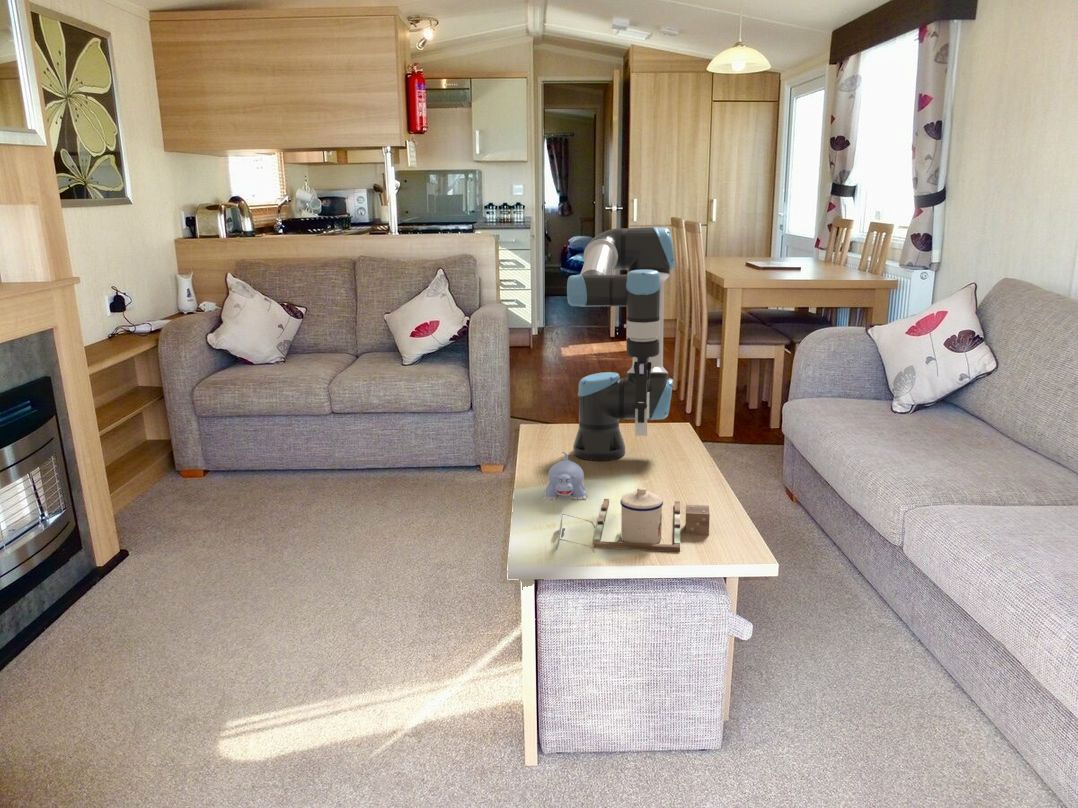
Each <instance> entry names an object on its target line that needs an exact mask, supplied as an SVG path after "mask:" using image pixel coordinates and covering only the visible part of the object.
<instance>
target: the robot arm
mask: <svg viewBox="0 0 1078 808" xmlns="http://www.w3.org/2000/svg"><path fill="white" fill-rule="evenodd" d="M583 262H584V263H583V266H582V269H581V271H580V273H578V274H576V275H575V274H573V275H570V276H568V278H567V283H566V295H567V296H566V297H567V303H568V304H569V306H572V307H582V308H584V307H587V308H588V307H626V323H624V324H623V328H624V329H626V337H627V340H626V355H627V356H629V357H631V358H632V365H631V367H630V369H628V371H627V372H626V378H620V377H621V376H620V374H619V373H618V372H611V371H609V372H608V371H607V372H598V373H592V374H588V375H586V376H584V377H582V378H581V379H580V380H579V382H578V393H577V396H578V428H577V432H576V436H575V439H574V442H573V445H572V447H573V449H572V451H573V455H574V456H575V457H577V458H579V459H582V460H585V461H586V460H587V461H599V462H601V461H611V460H616V459H619V458H622V457H623V456H625V454H626V444H625V442H624V438H623V435H622V432H621V428H620V420H634V436H636V437H637V436H639V437H640V436H641V437H642V436H643V437H647V436H648V420H650V421H653V420H665V419H666V418H667V417H668V416H669V413H670V406H671V400H672V395H673V393H672V392H673V386H674V379H672V378H670V377H669V371H667V370H666V368H665V367H664V316H665V315H664V313H665V312H664V311H665V309H664V308H665V305H664V304H665V303H664V302H665V301H664V298H665V281H666V280H668V278H669V277H670V271H673V270H674V269H675V268H676V266H675V254H674V246H673V238H672V232H671V230H670V229H668V228H667V227H655V226H653V227H632V228H631V227H630V228H629V227H627V228H622V227H619V228H612V229H609V230H606V231H603V232H601V233H599V234H597V236H594V237H593V238H592V239H591V240H590V241H589V242H588V243H587V244H586V246H585V248H584V251H583ZM613 270H614V271H615V270H616V271H617V270H619V271H628V272H627V274H612V271H613Z"/></svg>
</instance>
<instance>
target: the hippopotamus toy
mask: <svg viewBox="0 0 1078 808" xmlns="http://www.w3.org/2000/svg"><path fill="white" fill-rule="evenodd" d="M561 454H564V456H563V460H561V461H557V462H556V463H554V464H553V465H552V466H551V468H550V469H549V470H548V473H547V474H548V475H547V477H548V478H547V479H548V484H547V486H546V487H545V489H544V495H543V501H544V500H545V501H553V500H557V499H558V498H557V497H558V496H561V497H568V496H570V495H571V496H572V497H573V500H577V501H582V500H583V501H584V500H587V497H588V495H587V488H586V487H585V485H584V484H583V482H584V477H585V476H584V475H585V473H584V470H583V469H582V467H581V466H580V465H579V464H578V463H576V462H574V461H572V460H570V458H569V456H568V454H567V453H566V452H564V451H563V452H561Z"/></svg>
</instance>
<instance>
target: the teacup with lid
mask: <svg viewBox="0 0 1078 808" xmlns="http://www.w3.org/2000/svg"><path fill="white" fill-rule="evenodd" d="M620 505H621V507H620V508H621V509H620V510H621V511H620V512H621V515H620V516H621V519H620V520H621V522H620V524H621V525H620V526H621V532H620V533H621V537H620V538H621V539H622V541H623V542H626V543H648V544H659V543H660V541H661V540H662V527H663V526H662V524H663V522H662V521H663V520H662V519H663V517H662V516H663V515H662V514H663V513H662V511H663V505H664V502H663V499H662V497H660V495H658V494H655V493H652V492H650V491H648V490H647V488H646V487H644V486H639V487H637V489H636V490H635V491H633V492H629V493H626V494H625V495H623V496H622V497H621V498H620Z"/></svg>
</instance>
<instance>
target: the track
mask: <svg viewBox="0 0 1078 808" xmlns="http://www.w3.org/2000/svg"><path fill="white" fill-rule="evenodd" d="M609 504H610V498H603V502H602V506H601V507H600V512H599V513H600V514H599V517H598V520H597V526H596V528H595V534H594V536H593V537H594V538H593V543H592V547H593V548H592V549H609V550H610V549H612V550H613V549H615V550H630V551H631V550H637V551H638V550H639V551H652V552H653V551H655V552H656V551H657V552H659V551H660V552H674V553H675V552H677V553H680V552H681V501H680V500H679V501H674V532H673V533H674V536H673V537H674V538H673V539H674V540H673V541H674V543H673V544H667V543H665V544H664V543H657V544H648V543H626V542H624V541H623V542H622V541H619V542H618V541H602V540H601V539H602V536H603V532H604V526H605V522H606V517H607V514H608V508H609Z"/></svg>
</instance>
